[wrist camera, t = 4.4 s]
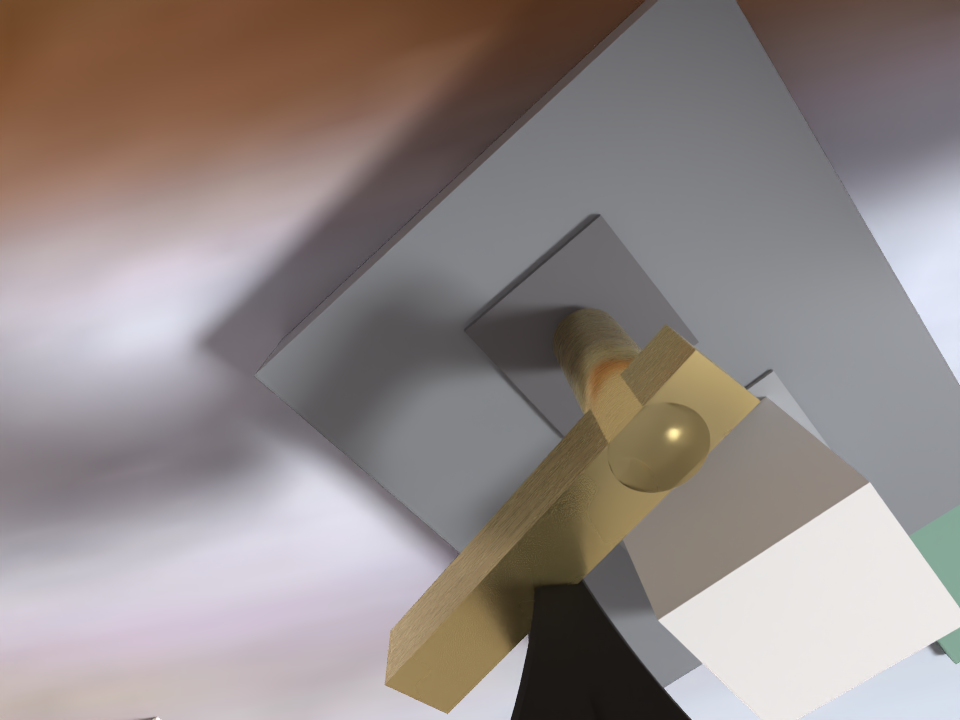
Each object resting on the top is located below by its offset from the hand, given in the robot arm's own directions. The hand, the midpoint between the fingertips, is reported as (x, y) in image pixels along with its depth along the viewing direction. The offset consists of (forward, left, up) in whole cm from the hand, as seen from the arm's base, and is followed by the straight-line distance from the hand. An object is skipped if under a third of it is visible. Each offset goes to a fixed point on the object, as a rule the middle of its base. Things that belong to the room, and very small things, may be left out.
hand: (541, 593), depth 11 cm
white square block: (-4, +5, -4) cm, 7 cm away
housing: (-4, +2, -7) cm, 8 cm away
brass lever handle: (-1, -1, -4) cm, 4 cm away
